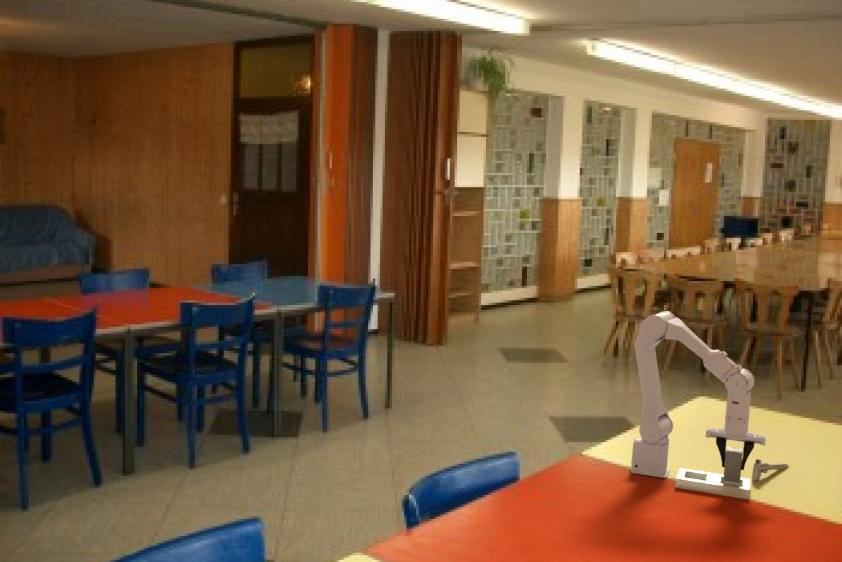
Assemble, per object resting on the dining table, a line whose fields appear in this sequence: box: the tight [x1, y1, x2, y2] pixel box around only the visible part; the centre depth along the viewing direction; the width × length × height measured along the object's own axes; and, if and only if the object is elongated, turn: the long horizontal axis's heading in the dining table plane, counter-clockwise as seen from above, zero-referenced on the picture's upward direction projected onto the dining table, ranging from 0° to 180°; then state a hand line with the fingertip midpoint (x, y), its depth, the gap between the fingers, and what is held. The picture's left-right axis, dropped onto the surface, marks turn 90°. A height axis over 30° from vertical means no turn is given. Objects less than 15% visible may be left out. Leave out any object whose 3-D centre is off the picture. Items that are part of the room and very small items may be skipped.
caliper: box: [751, 458, 790, 483], centre depth 243 cm, size 20×1×6 cm, turn 133°
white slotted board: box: [675, 467, 752, 500], centre depth 231 cm, size 18×9×2 cm, turn 68°
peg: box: [723, 446, 744, 483], centre depth 228 cm, size 4×4×8 cm
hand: (732, 467), depth 229 cm, fingers closed on peg, 4 cm apart
